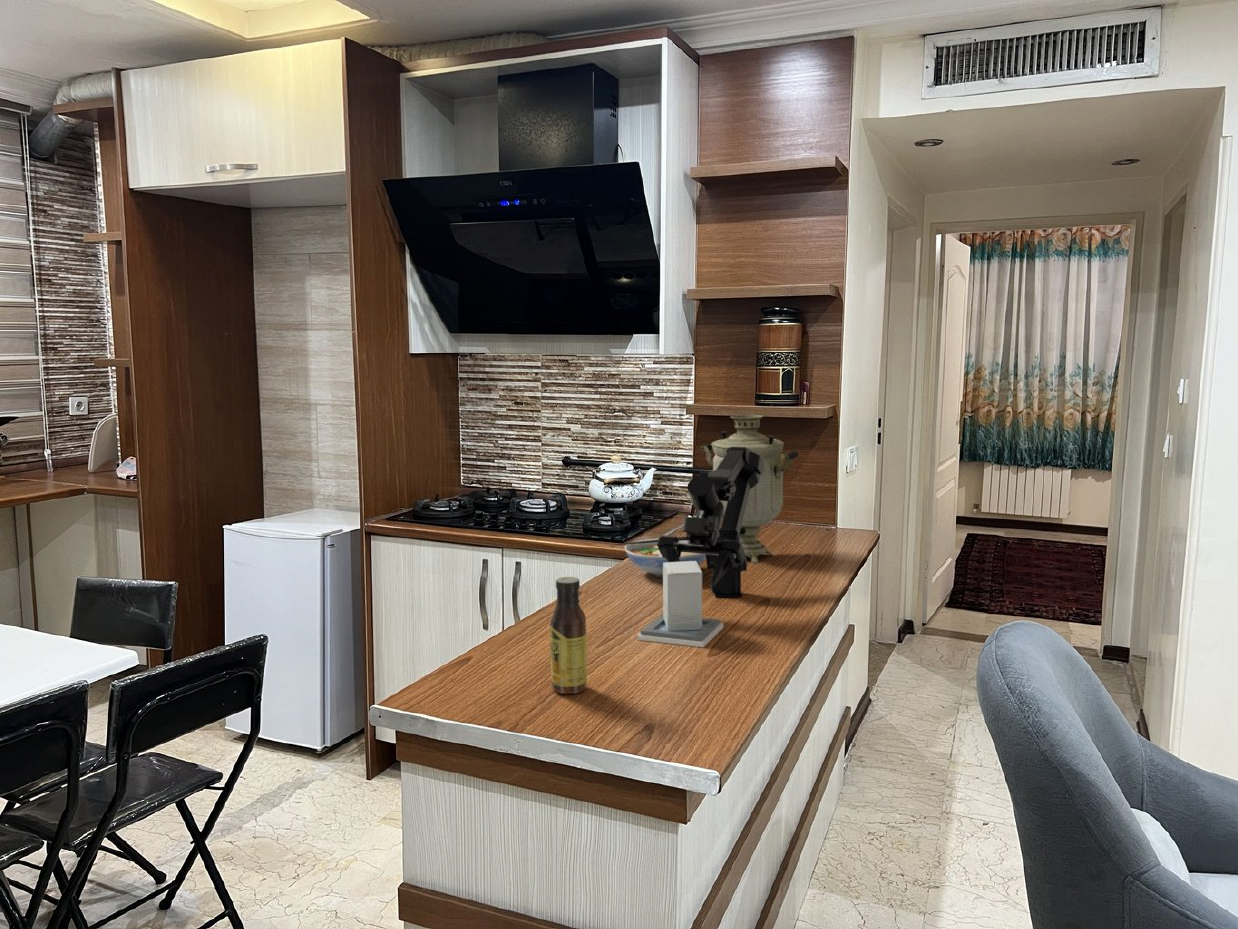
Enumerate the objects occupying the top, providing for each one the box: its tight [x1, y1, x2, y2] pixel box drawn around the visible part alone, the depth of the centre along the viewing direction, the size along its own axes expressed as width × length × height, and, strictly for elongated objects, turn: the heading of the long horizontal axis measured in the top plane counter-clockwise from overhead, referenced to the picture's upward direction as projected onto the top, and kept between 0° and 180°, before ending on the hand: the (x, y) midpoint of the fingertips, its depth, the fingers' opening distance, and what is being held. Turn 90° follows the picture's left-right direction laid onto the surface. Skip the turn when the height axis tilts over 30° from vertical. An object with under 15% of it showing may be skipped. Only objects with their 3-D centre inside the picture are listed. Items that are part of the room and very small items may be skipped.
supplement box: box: [662, 561, 703, 631], centre depth 193 cm, size 7×7×13 cm
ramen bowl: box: [614, 536, 706, 578], centre depth 243 cm, size 25×23×8 cm
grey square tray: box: [637, 613, 724, 648], centre depth 193 cm, size 14×14×2 cm
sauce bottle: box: [549, 576, 588, 695], centre depth 161 cm, size 7×6×20 cm
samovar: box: [699, 414, 800, 564], centre depth 261 cm, size 30×26×40 cm
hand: (692, 582), depth 199 cm, fingers open, 9 cm apart
